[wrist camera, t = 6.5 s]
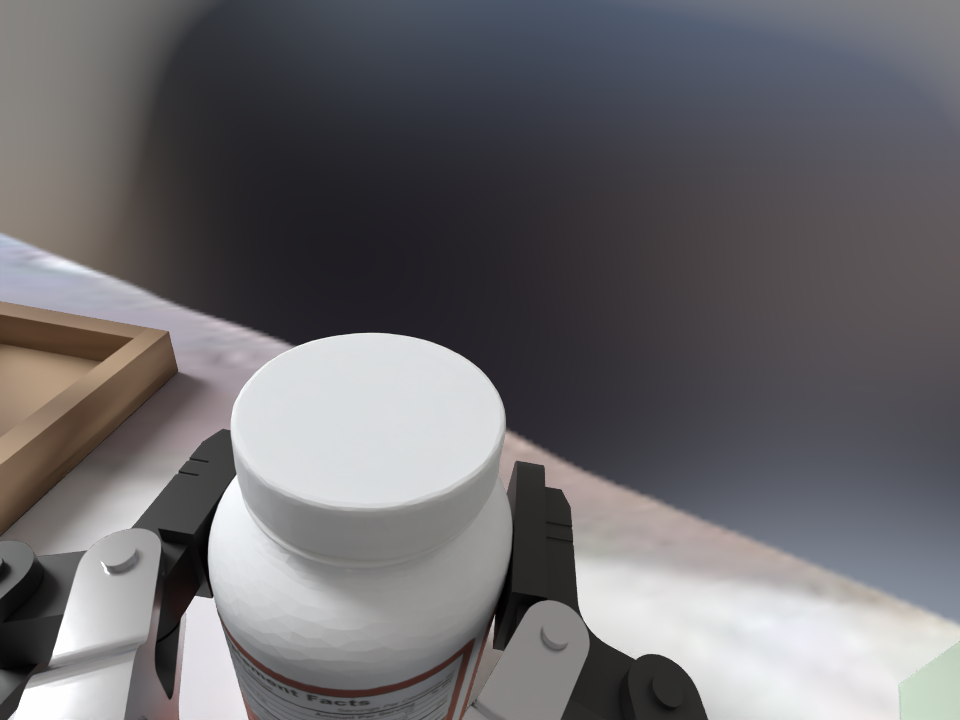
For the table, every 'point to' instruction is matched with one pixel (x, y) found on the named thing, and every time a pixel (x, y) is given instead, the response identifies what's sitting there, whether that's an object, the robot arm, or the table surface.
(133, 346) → the tray
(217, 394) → the table surface
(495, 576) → the pill bottle
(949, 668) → the pale green bin
